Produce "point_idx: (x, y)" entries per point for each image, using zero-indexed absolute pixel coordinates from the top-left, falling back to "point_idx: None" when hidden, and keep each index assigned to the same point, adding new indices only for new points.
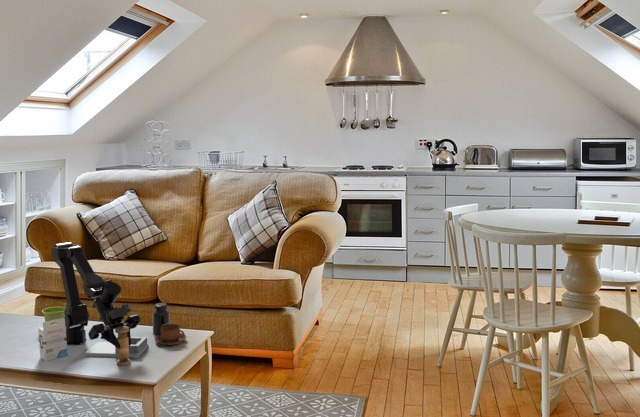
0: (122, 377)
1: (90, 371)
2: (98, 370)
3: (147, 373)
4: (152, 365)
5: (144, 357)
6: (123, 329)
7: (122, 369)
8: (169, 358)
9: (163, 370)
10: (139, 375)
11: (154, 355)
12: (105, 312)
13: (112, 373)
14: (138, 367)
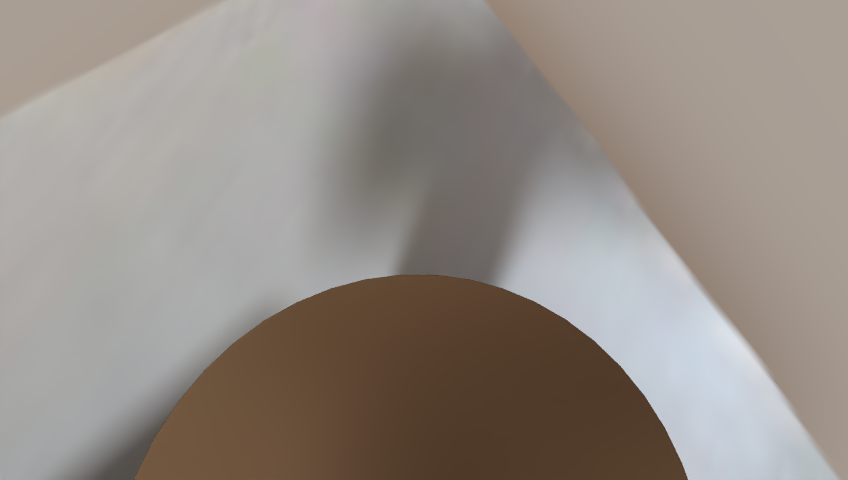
0: (556, 97)
1: (712, 396)
2: (649, 369)
3: (378, 37)
4: (252, 149)
5: (180, 379)
6: (453, 368)
7: (482, 244)
8: (43, 189)
9: (256, 5)
10: (442, 45)
11: (79, 359)
12: None
13: (583, 222)
14: (361, 191)
